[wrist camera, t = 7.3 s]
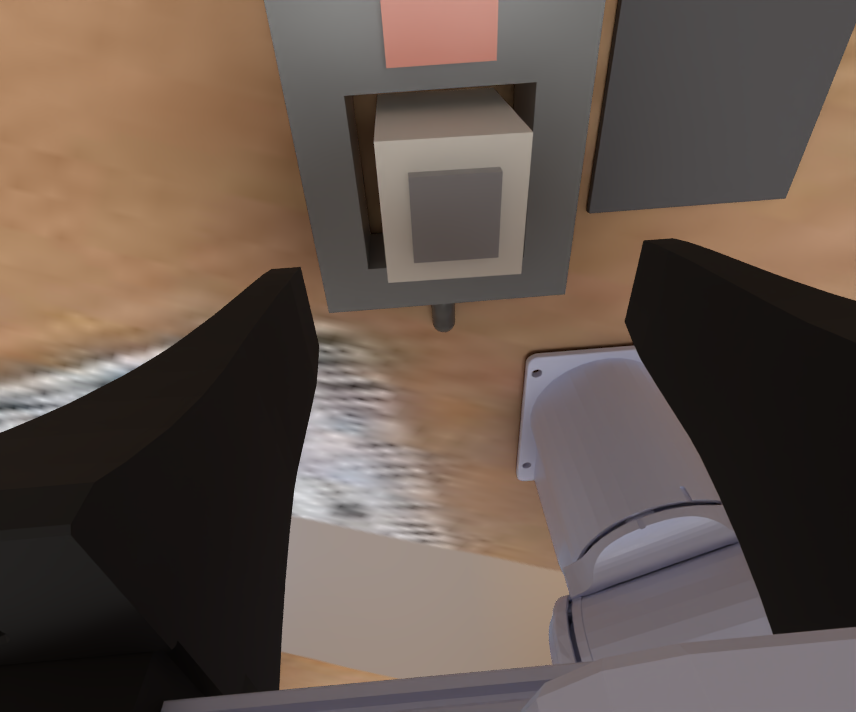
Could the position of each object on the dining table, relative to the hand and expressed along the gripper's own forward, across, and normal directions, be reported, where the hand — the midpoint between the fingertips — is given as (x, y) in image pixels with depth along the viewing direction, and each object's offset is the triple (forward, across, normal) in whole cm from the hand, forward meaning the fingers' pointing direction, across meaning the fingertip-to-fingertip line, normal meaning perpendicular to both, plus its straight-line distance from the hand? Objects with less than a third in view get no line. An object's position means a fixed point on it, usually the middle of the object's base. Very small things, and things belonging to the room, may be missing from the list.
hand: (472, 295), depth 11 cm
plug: (+10, 0, 0) cm, 10 cm away
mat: (+10, -10, -2) cm, 14 cm away
